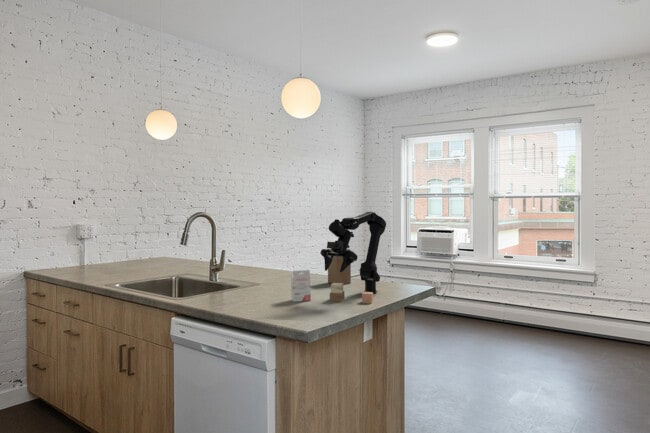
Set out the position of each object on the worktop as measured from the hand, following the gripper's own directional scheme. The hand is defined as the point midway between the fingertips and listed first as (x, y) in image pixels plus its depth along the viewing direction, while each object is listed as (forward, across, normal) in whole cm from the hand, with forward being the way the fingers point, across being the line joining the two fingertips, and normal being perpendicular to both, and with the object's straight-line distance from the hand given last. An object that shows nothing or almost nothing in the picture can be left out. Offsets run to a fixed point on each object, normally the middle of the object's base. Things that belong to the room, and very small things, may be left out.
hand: (333, 271), depth 217 cm
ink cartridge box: (+16, -15, +2) cm, 22 cm away
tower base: (+10, -2, +12) cm, 16 cm away
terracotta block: (+8, +12, +16) cm, 22 cm away
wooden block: (-10, -32, +46) cm, 56 cm away
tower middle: (+7, -2, +10) cm, 12 cm away
